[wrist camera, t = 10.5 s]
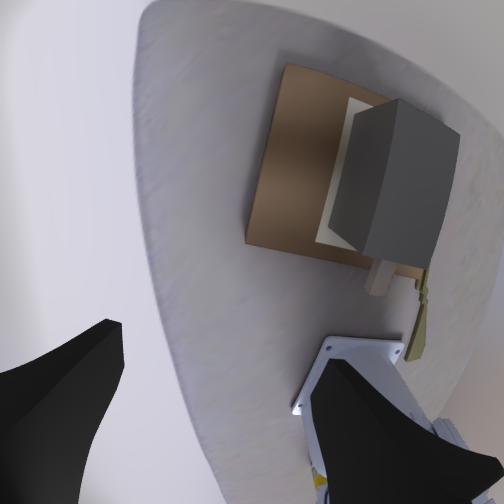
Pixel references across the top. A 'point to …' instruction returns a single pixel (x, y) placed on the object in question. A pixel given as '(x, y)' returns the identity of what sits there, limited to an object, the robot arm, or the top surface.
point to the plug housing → (394, 188)
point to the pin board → (308, 168)
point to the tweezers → (419, 321)
